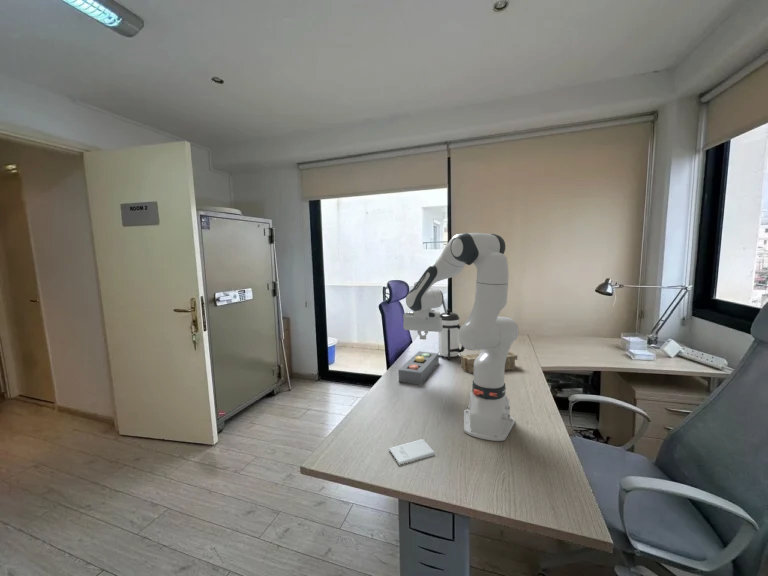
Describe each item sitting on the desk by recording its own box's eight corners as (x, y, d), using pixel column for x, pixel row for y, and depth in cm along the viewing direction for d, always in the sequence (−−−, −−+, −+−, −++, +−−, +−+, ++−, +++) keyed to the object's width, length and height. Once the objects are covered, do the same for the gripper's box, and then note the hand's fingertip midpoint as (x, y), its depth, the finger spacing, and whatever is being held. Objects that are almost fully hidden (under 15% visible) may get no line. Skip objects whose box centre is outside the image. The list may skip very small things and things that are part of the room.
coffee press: (435, 360, 187) (434, 311, 184) (438, 352, 202) (437, 306, 199) (464, 362, 182) (464, 311, 179) (466, 353, 197) (465, 307, 194)
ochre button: (422, 362, 166) (422, 359, 165) (414, 361, 168) (414, 358, 168) (425, 360, 170) (425, 356, 170) (417, 359, 172) (417, 355, 172)
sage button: (428, 359, 175) (428, 356, 175) (420, 358, 177) (420, 355, 177) (430, 357, 179) (430, 353, 179) (422, 356, 181) (422, 352, 181)
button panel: (421, 384, 153) (421, 372, 152) (398, 381, 158) (398, 369, 157) (438, 363, 181) (438, 353, 181) (419, 361, 186) (419, 351, 186)
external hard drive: (434, 456, 99) (399, 467, 94) (422, 442, 106) (388, 451, 102) (434, 451, 99) (399, 462, 94) (422, 438, 106) (388, 447, 102)
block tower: (466, 374, 166) (518, 369, 168) (465, 359, 165) (517, 354, 168) (461, 369, 174) (510, 364, 176) (460, 355, 173) (510, 350, 175)
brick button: (416, 372, 157) (416, 368, 157) (407, 370, 159) (407, 367, 159) (419, 368, 161) (419, 365, 161) (410, 367, 163) (410, 364, 163)
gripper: (401, 313, 160) (401, 339, 161) (440, 314, 151) (440, 342, 152) (405, 311, 165) (406, 336, 166) (443, 312, 157) (443, 339, 158)
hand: (423, 339), depth 159 cm, fingers closed
